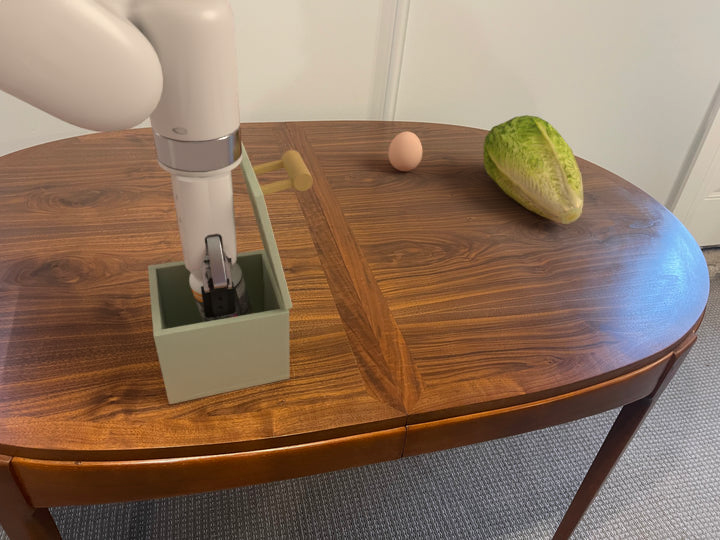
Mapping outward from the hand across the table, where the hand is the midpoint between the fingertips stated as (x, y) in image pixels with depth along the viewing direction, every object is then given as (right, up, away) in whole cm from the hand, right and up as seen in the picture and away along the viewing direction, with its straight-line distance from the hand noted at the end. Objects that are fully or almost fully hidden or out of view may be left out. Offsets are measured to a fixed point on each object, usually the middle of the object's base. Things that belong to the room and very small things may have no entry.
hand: (216, 293), depth 59 cm
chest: (-1, -8, +6) cm, 10 cm away
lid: (+5, +7, -3) cm, 10 cm away
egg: (+24, +22, +48) cm, 58 cm away
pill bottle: (+1, -4, +3) cm, 5 cm away
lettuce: (+48, +16, +42) cm, 66 cm away
